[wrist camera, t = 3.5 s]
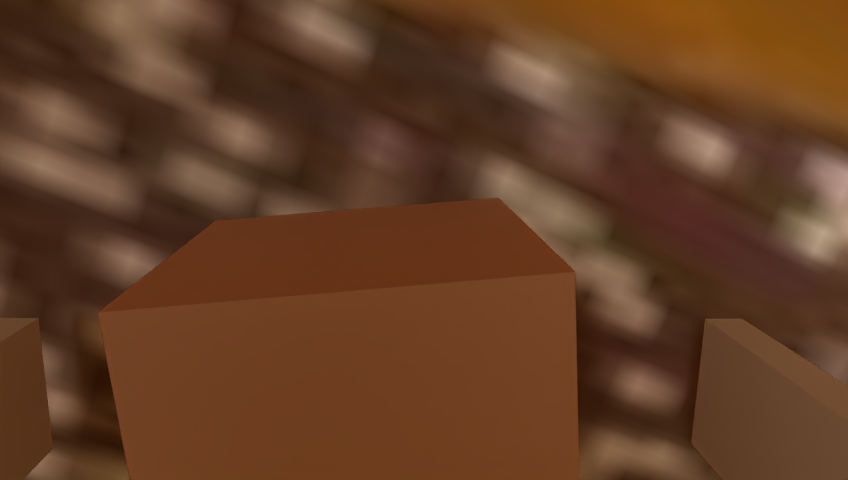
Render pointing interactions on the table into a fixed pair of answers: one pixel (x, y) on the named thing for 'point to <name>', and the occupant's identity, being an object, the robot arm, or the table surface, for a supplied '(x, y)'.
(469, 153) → the table surface
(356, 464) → the block
